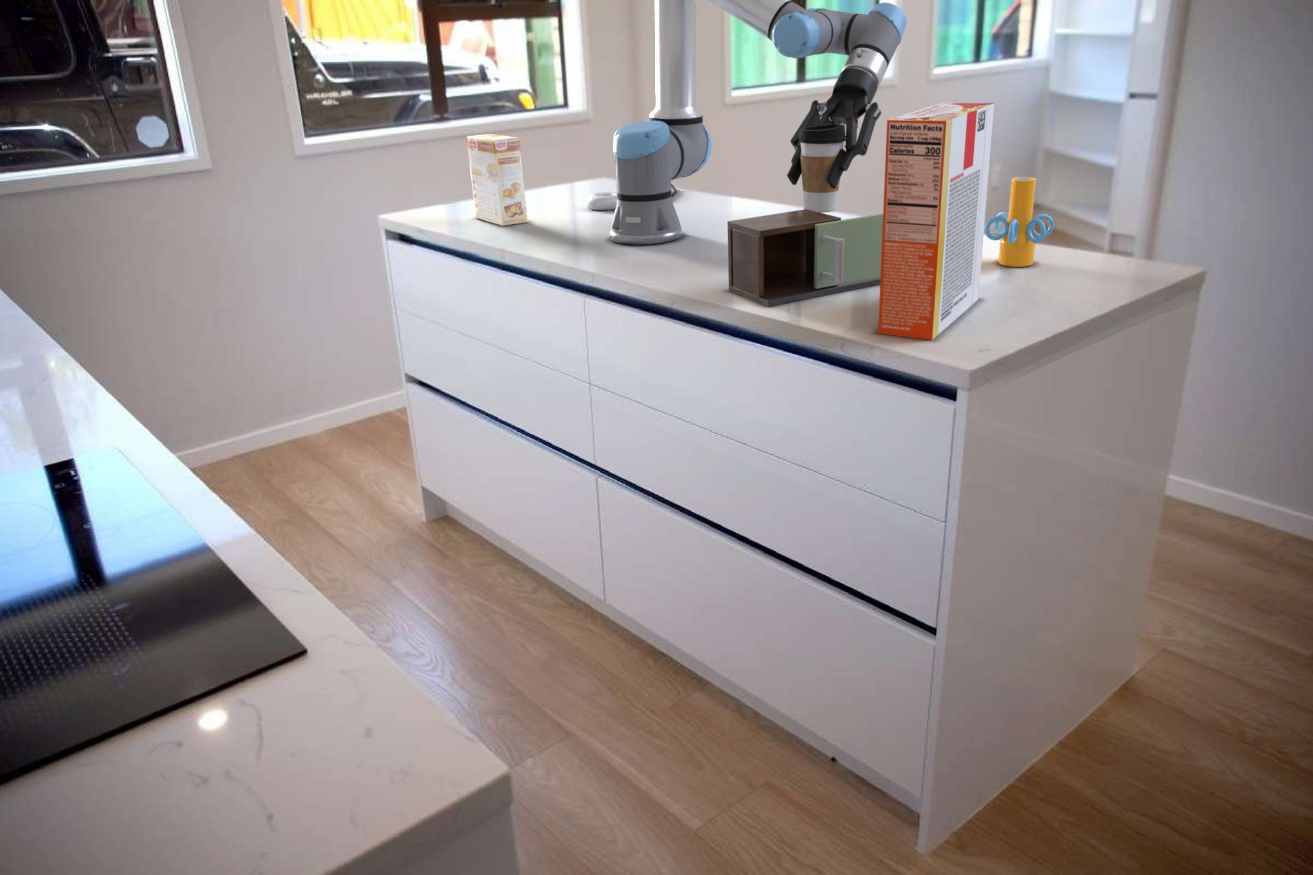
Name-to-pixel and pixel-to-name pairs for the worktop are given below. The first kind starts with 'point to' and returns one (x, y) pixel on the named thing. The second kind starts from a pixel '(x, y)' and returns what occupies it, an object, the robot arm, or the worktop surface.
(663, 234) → the robot arm
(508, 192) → the coffeecake box
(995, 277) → the worktop surface
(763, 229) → the cabinet
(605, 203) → the donut
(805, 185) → the coffee cup
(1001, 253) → the cylinder
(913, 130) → the cereal box
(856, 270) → the door
